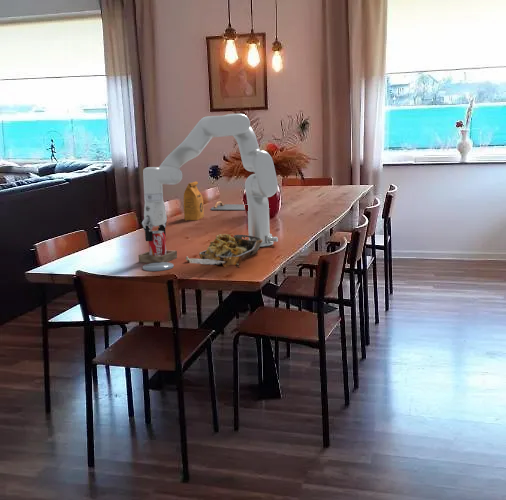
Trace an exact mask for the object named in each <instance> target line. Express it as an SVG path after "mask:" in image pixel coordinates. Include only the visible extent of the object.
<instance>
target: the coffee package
mask: <svg viewBox="0 0 506 500" xmlns="http://www.w3.org/2000/svg"><path fill="white" fill-rule="evenodd" d="M198 184H199V182H198V181H193V182H188V184H187V186H186V188H185V190H184V193H183V215H184V221H187V220H188V221H198V220H201V219H203V218H204V217H205V209H204V199H203V195H202V193H201V192H200V191H199V189H198V186H197V185H198Z"/></svg>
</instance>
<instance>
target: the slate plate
mask: <svg viewBox="0 0 506 500" xmlns="http://www.w3.org/2000/svg"><path fill="white" fill-rule="evenodd" d="M173 268H174V263H172V262H169V261H168V262H156V263H146V264H143V265H142V270H144V271H146V272H163V271H168V270H170V269H173Z"/></svg>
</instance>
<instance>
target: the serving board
mask: <svg viewBox="0 0 506 500" xmlns="http://www.w3.org/2000/svg"><path fill="white" fill-rule="evenodd" d="M210 211H244V212H245V208H244V204H240V203H239V204H236V203H235V204H234V203H233V204H231V203H227V204H226V203H225V204H224V203H223V202H222V201H220V200H219V201H217V202H215V204H214V206H211V208H210Z"/></svg>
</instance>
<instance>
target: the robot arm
mask: <svg viewBox="0 0 506 500" xmlns="http://www.w3.org/2000/svg"><path fill="white" fill-rule="evenodd" d="M230 136H232V137H233V138H234V140H235V141H236V143H237V146H238V149H239V153H240V157H241V162H242V166H243V168H244V169H245V170H246V171H247V172H251V173H252V172H253V173H252V174H250V175H249V176H248V177H247V178H245V179H246V180H245V182H244V190H245V195H246V196H245V197H246V203H247V204H246V205H248V211H247V226H248V227H247V228H248V230H247V231H248V232H247V233H248V236H254V237H258V238H260V239H262V242H261V244H260V247H269V246H273V245H274V242H276V243H278V242H279V238H278V236H273V234H272V233H270V229H271V228H270V208H269V198H271V197H273V196H274V195H275V194H276V193H277V192H278V185H279V183H278V177H277V173H276V168H275V165H274V160H273V157H272V156H271V155H270V154H269V152H268V151H265V150H264V149H263V150H261V149H260V146H259V142H258V138H257V135H256V133H255V131H254V130H253V128H252V127H251V120H250V119H249V117H248V115H247V114H246V115H245V114H244V113H227V114H224V115H210V116H208V115H207V116H204V117H202V118H200V120H199V121H197V123H196V125H194V127H193V128H192V129H191V131H190V132H189V133H188V135H187V136H186V137H185V139H183V141H182V142H181V143H180V144H179V145H177V147H175V148H174V149H173V150H172V151H171V152H170V153H169V154H168V155H167V156H166V157H165V159H164V160H163V161H162V162H161V163H160V165H159V166H148V167H145V168H144V169H143V170H142V172H143V173H142V174H143V175H142V179H143V196H144V197H143V198H144V205H143V206H144V208H143V210H144V211H143V220H142V222H141V225H142V228H143V231H144V236H145V237H144V239H145V241H146V242H149V241H153V232H152V231H153V228H154V227H157V230H161V231H163V233H164V234H165V238H166V237H167V235H166V227H167V220H168V216H167V213H166V211H167V209H166V205H165V201H164V190H163V189H164V188H163V185H178V184H179V183H180V182H181V181H182V180H183V172H182V170H181V169H180V168H181V167H182V166H183V165H185V164H186V163H187V162H189V161H191V160H192V159H195V158H197V157H199V156H200V154H201V153H202V152H203V151H204V149H205V148H206V147H207V145H208V144H209V142H210V141H211V140H212V139H213V138H221V137H230ZM254 239H255V238H253V240H252V241H257V240H256V239H255V240H254ZM248 240H250V238H249V237H248ZM260 247H259V248H260Z"/></svg>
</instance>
